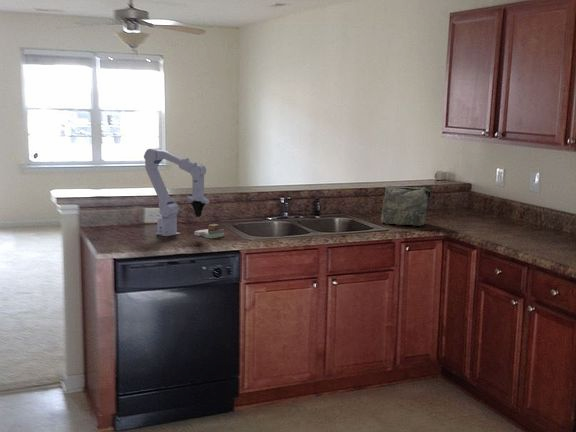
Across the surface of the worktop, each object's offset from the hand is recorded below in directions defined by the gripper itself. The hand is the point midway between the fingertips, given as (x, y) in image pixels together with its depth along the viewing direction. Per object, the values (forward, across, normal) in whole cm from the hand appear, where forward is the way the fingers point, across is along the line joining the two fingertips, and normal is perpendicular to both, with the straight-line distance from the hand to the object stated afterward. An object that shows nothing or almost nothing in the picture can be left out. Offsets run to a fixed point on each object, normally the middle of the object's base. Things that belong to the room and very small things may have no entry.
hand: (198, 216), depth 330 cm
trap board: (+10, -1, -6) cm, 12 cm away
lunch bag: (+11, -48, -115) cm, 125 cm away
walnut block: (+8, -4, -6) cm, 11 cm away
